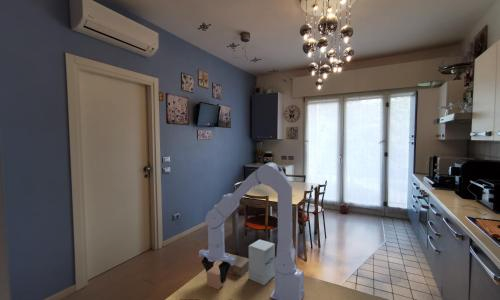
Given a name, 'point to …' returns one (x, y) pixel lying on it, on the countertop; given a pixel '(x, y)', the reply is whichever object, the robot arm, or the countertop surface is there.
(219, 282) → the terracotta cube
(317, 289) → the countertop surface
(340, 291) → the countertop surface
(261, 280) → the supplement box
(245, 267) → the walnut slab
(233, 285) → the countertop surface
